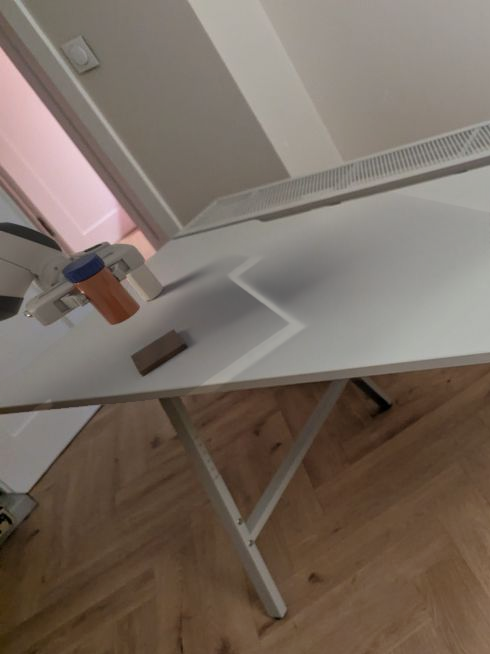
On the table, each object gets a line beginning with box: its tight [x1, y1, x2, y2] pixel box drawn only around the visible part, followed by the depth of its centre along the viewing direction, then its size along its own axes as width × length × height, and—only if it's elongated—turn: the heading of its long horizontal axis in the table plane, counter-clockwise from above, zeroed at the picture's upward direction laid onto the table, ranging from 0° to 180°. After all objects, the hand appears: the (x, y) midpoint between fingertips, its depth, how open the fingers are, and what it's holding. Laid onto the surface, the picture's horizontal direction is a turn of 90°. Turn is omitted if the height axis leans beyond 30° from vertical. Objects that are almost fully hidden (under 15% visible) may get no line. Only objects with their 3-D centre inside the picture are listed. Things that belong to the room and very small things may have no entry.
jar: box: [72, 265, 141, 326], centre depth 94 cm, size 6×6×11 cm
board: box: [130, 328, 188, 377], centre depth 102 cm, size 9×9×1 cm
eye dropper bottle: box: [125, 263, 164, 302], centre depth 124 cm, size 4×6×12 cm
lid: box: [62, 253, 105, 283], centre depth 91 cm, size 6×6×2 cm
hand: (102, 287), depth 93 cm, fingers closed on jar, 6 cm apart
